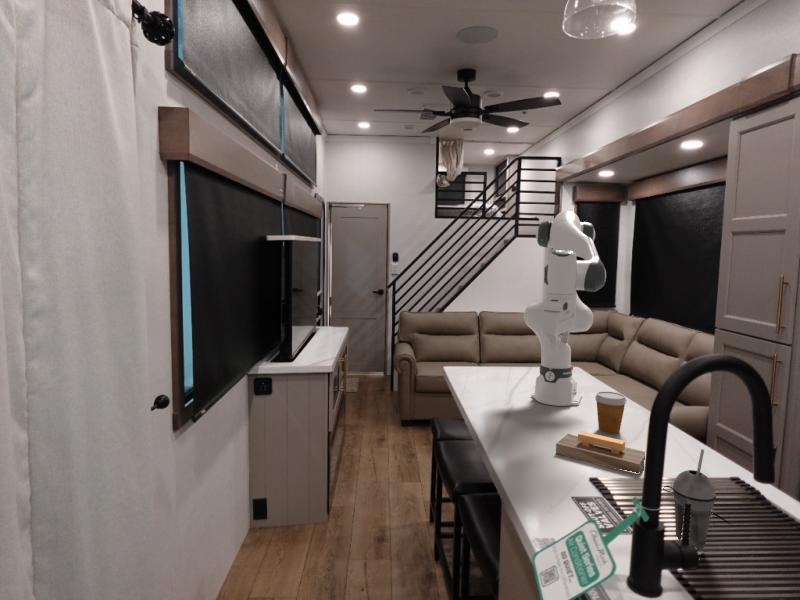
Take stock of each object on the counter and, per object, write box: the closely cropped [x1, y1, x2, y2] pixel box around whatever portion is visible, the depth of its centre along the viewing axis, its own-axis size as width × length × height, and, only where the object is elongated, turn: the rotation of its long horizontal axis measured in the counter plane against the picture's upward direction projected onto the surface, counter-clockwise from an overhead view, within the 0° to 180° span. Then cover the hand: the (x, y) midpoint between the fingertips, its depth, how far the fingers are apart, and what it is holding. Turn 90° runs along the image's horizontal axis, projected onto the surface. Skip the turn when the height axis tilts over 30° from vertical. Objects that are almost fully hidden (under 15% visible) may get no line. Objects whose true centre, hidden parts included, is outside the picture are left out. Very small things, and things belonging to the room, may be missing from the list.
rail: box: [555, 433, 646, 473], centre depth 137 cm, size 10×22×3 cm, turn 52°
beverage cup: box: [671, 448, 717, 551], centre depth 93 cm, size 7×7×20 cm
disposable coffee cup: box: [594, 390, 628, 435], centre depth 159 cm, size 10×10×12 cm
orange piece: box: [577, 430, 626, 454], centre depth 137 cm, size 3×12×6 cm, turn 52°
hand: (559, 346), depth 152 cm, fingers open, 8 cm apart
